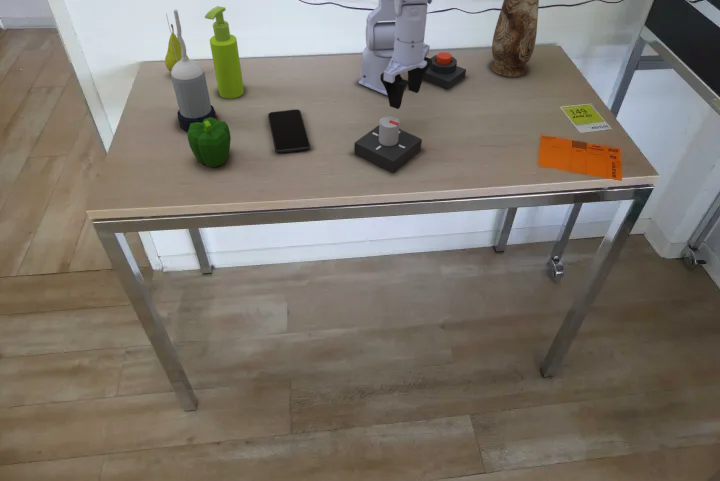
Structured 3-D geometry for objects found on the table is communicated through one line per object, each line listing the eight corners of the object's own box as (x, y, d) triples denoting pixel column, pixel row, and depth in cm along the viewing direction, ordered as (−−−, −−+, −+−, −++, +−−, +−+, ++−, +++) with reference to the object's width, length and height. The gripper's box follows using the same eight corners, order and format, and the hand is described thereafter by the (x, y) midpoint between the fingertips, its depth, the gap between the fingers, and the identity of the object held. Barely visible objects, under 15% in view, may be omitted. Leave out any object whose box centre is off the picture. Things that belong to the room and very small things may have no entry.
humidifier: (223, 126, 124) (202, 13, 106) (187, 136, 121) (159, 23, 103) (209, 108, 129) (187, -2, 111) (174, 118, 126) (146, 7, 108)
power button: (433, 62, 139) (434, 55, 137) (441, 57, 141) (442, 50, 139) (445, 67, 137) (446, 60, 136) (453, 61, 139) (454, 55, 138)
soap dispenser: (211, 97, 132) (195, 13, 118) (227, 83, 137) (213, 1, 123) (233, 102, 131) (219, 18, 117) (248, 88, 135) (237, 5, 121)
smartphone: (311, 150, 118) (300, 111, 128) (310, 146, 117) (300, 108, 128) (275, 154, 117) (267, 115, 127) (275, 151, 116) (267, 111, 126)
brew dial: (375, 142, 115) (376, 122, 112) (385, 132, 118) (386, 112, 114) (391, 148, 114) (393, 128, 110) (401, 138, 116) (403, 118, 113)
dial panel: (354, 154, 117) (354, 141, 115) (383, 133, 123) (383, 121, 121) (392, 173, 113) (393, 160, 111) (420, 150, 119) (422, 138, 116)
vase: (532, 79, 141) (564, -49, 120) (489, 78, 141) (514, -50, 120) (523, 59, 148) (553, -65, 127) (483, 58, 148) (506, -66, 127)
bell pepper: (195, 148, 118) (186, 106, 111) (235, 147, 118) (228, 105, 111) (190, 173, 112) (179, 130, 105) (231, 171, 112) (224, 129, 105)
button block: (414, 76, 141) (415, 61, 138) (432, 64, 145) (433, 49, 143) (448, 89, 136) (450, 74, 134) (465, 76, 141) (468, 62, 138)
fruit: (173, 82, 137) (161, 35, 128) (165, 72, 140) (153, 25, 132) (195, 76, 139) (186, 29, 130) (187, 66, 142) (177, 20, 134)
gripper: (408, 57, 102) (402, 120, 112) (445, 28, 111) (437, 90, 120) (375, 46, 105) (373, 109, 114) (414, 19, 113) (409, 80, 123)
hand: (404, 98), depth 118 cm, fingers open, 7 cm apart
